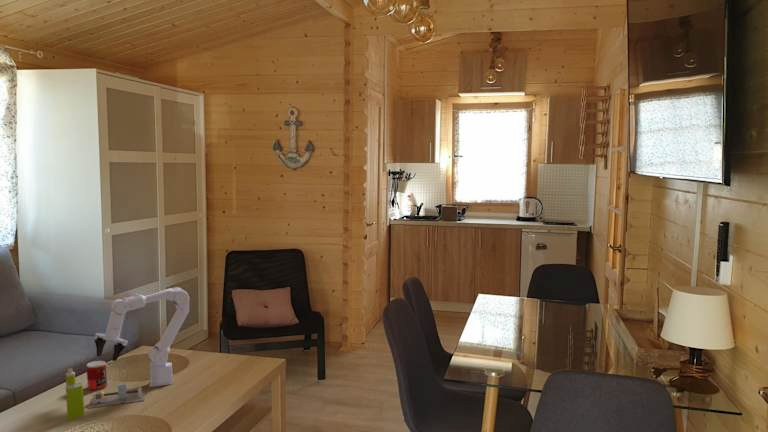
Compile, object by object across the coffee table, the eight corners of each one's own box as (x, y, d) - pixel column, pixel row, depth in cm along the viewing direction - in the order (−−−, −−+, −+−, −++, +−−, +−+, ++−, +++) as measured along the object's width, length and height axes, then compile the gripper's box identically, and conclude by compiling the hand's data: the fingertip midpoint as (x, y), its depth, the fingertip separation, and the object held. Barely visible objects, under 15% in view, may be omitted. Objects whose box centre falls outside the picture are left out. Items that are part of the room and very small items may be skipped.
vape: (66, 418, 226) (62, 368, 224) (81, 413, 231) (78, 364, 229) (69, 421, 224) (66, 371, 222) (85, 415, 228) (82, 366, 227)
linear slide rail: (145, 392, 251) (144, 382, 251) (144, 400, 242) (143, 391, 242) (91, 399, 244) (91, 389, 244) (88, 408, 235) (87, 398, 235)
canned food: (99, 391, 253) (98, 366, 252) (83, 390, 255) (82, 365, 254) (111, 384, 261) (109, 361, 260) (95, 383, 262) (94, 360, 261)
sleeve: (127, 394, 246) (126, 382, 245) (126, 397, 243) (125, 385, 242) (119, 395, 245) (118, 383, 244) (118, 398, 242) (117, 386, 241)
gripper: (93, 323, 247) (85, 355, 246) (123, 331, 244) (115, 363, 243) (104, 322, 254) (96, 353, 253) (133, 330, 251) (125, 361, 250)
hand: (106, 358), depth 248 cm, fingers open, 7 cm apart
